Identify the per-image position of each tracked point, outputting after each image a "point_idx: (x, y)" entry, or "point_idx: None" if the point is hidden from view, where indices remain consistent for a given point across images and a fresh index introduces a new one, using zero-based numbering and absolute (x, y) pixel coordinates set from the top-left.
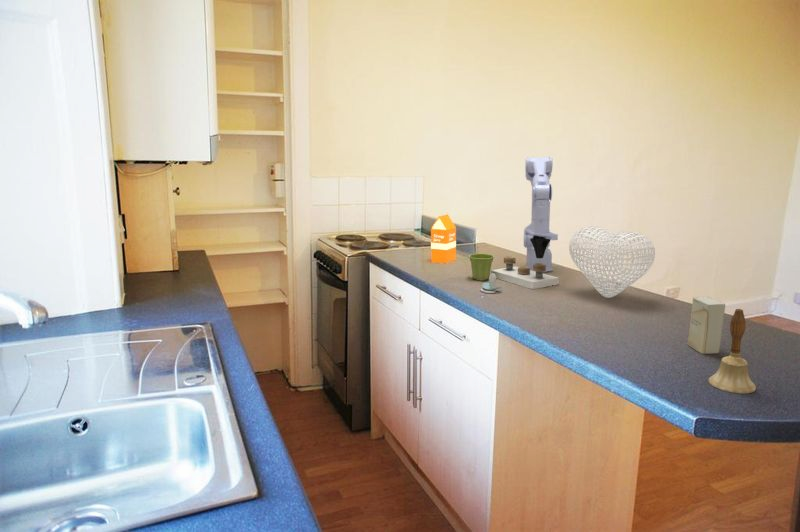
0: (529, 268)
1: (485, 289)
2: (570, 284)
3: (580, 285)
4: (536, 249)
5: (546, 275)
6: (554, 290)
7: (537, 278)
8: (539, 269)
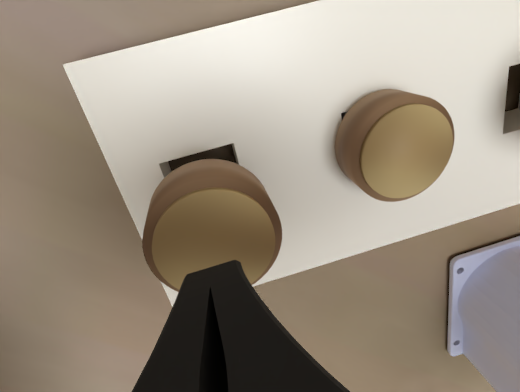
0: (371, 190)
1: None
2: None
3: (125, 369)
4: (229, 362)
5: None
6: (20, 199)
7: None
8: (150, 202)
